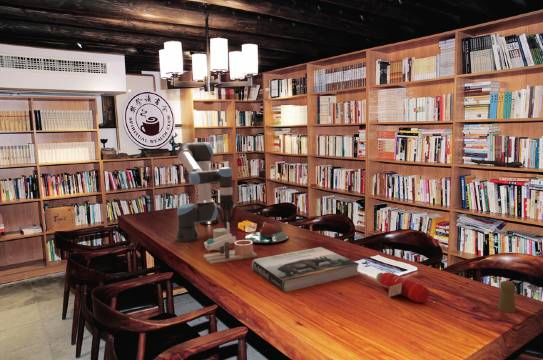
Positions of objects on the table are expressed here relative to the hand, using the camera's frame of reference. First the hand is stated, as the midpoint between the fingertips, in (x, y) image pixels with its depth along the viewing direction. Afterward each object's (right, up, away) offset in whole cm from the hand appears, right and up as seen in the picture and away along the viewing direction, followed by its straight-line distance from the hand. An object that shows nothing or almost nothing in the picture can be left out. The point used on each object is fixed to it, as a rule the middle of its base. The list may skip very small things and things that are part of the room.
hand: (227, 233), depth 235 cm
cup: (+10, -11, -4) cm, 15 cm away
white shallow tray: (-4, -4, -7) cm, 9 cm away
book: (+42, -16, -35) cm, 57 cm away
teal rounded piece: (+23, -8, +28) cm, 37 cm away
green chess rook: (+117, -19, -80) cm, 143 cm away
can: (-5, -11, +10) cm, 16 cm away
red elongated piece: (+80, -18, -64) cm, 104 cm away
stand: (+2, -12, -7) cm, 14 cm away
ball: (-8, -3, -13) cm, 15 cm away
